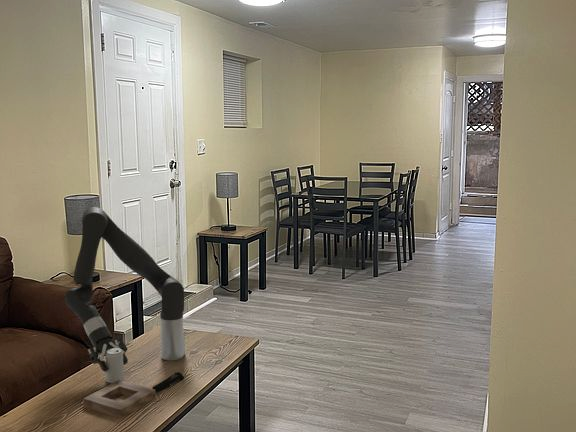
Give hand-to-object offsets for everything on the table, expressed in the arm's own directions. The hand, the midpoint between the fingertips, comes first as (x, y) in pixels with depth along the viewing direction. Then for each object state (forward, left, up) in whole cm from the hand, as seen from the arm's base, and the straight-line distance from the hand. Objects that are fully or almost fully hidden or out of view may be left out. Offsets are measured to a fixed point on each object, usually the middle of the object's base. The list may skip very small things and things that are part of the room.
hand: (116, 367), depth 216 cm
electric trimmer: (-7, +19, -6) cm, 21 cm away
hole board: (+12, +13, -6) cm, 18 cm away
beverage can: (0, -1, -6) cm, 6 cm away
